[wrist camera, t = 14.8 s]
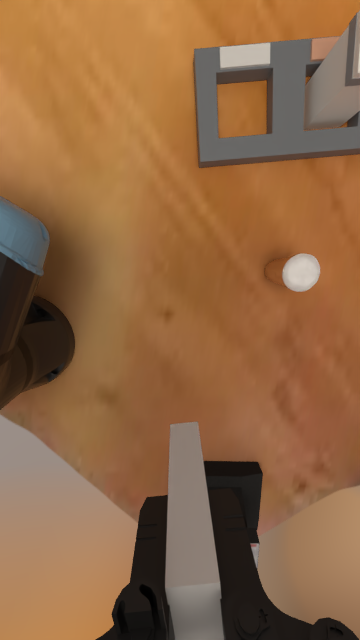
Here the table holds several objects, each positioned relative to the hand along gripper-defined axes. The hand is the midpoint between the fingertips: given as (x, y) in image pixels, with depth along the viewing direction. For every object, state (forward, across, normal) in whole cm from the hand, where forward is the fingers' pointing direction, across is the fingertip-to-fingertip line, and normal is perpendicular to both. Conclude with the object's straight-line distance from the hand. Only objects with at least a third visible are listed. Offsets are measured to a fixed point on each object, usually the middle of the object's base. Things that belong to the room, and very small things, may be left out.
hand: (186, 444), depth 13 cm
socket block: (+26, +17, +28) cm, 42 cm away
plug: (+26, +22, +28) cm, 44 cm away
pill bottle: (+26, +15, +7) cm, 31 cm away
